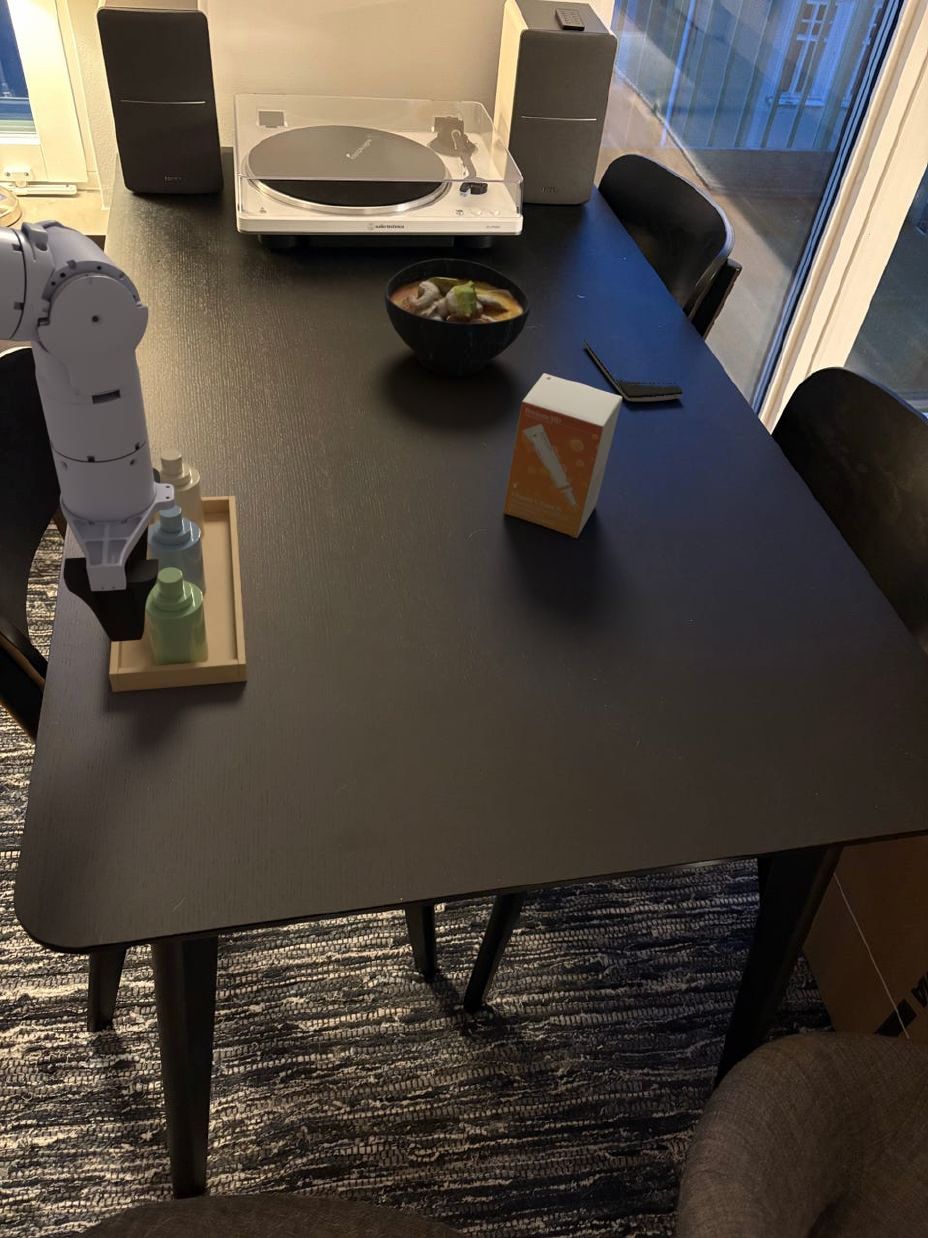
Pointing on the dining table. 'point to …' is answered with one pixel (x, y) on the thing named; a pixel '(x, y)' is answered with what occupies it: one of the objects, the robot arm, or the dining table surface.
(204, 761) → the dining table surface
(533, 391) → the small box
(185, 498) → the cream bottle
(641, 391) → the laptop
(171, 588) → the sage bottle
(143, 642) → the tray
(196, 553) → the blue bottle
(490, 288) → the bowl
